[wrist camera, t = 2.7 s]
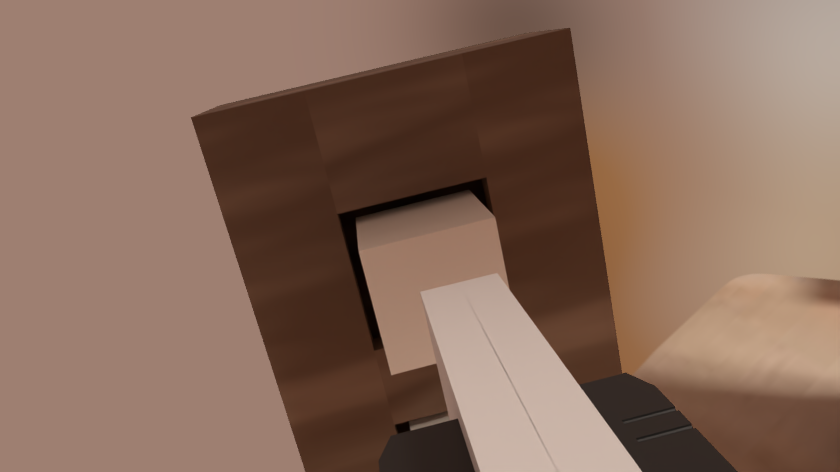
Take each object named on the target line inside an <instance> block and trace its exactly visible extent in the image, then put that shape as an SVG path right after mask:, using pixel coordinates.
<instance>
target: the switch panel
mask: <svg viewBox="0 0 840 472" xmlns="http://www.w3.org/2000/svg"><path fill="white" fill-rule="evenodd" d="M191 119H192V122H193V125H194V128H195V131H196V134H197V137H198V140H199V143H200V147H201V150H202V153H203V156H204V159H205V162H206V165H207V168H208V171H209V174H210V178H211V181H212V184H213V187H214V190H215V193H216V196H217V199H218V202H219V205H220V208H221V212H222V215H223V218H224V221H225V224H226V227H227V230H228V233H229V236H230V239H231V243H232V245H233V248H234V252H235V255H236V258H237V261H238V264H239V267H240V270H241V273H242V277H243V279H244V283H245V286H246V289H247V292H248V295H249V298H250V301H251V304H252V308H253V311H254V314H255V317H256V320H257V323H258V326H259V329H260V332H261V335H262V338H263V342H264V345H265V347H266V351H267V354H268V357H269V360H270V363H271V366H272V369H273V372H274V375H275V379H276V382H277V385H278V388H279V391H280V394H281V397H282V400H283V403H284V406H285V409H286V413H287V416H288V419H289V421H290V425H291V428H292V431H293V434H294V438H295V441H296V444H297V447H298V449H299V453H300V456H301V459H302V462H303V465H304V468H305V472H379V459H380V457H381V455H382V453H383V450H384V448H385V446H386V444H387V442H388V440H389V438H390V436H392V435H396V434H400V433H403V432H407V431H410V425H409V421H411V420H415V419H418V418H422V417H426V416H430V415H434V414H437V413H441V412H445V411H448V410H447V406H446V402H445V398H444V393H443V389H442V385H441V380H440V376H439V372H438V367H437V363H436V364H432V365H429V366H425V367H421V368H417V369H413V370H409V371H406V372H402V373H398V374H394V375H391V372H390V368H389V364H388V361H387V357H386V353H385V349H384V346H383V342H382V338H381V334H380V330H379V327H378V323H377V319H376V315H375V312H374V308H373V304H372V300H371V297H370V293H369V289H368V285H367V281H366V278H365V274H364V270H363V266H362V263H361V259H360V255H359V251H358V240H357V229H356V217H360V216H364V215H368V214H372V213H376V212H380V211H384V210H388V209H392V208H396V207H400V206H404V205H408V204H412V203H416V202H421V201H425V200H429V199H433V198H437V197H441V196H445V195H449V194H453V193H457V192H461V191H465V190H470V191H471V192H472V193H473V194H474V195H475V196H476V197H477V199H478V200H479V201H480V202H481V203H482V204H483V205H484V206H485V207H486V208H487V209H488V210H489V211H490V212H491V213H492V214H493V215H494V216H495V219H496V224H497V229H498V234H499V239H500V244H501V249H502V254H503V259H504V264H505V269H506V274H507V279H508V284H509V290H510V291H511V293H512V294H513V295H514V297H515V298H516V299H517V301H518V302H519V304H520V305H521V306H522V308H523V309H524V310H525V312H526V313H527V314H528V316H529V317H530V319H531V320H532V321H533V323H534V324H535V325H536V327H537V328H538V330H539V331H540V332H541V334H542V335H543V336H544V338H545V339H546V341H547V342H548V343H549V345H550V346H551V347H552V349H553V350H554V351H555V353H556V354H557V356H558V357H559V358H560V360H561V361H562V362H563V364H564V365H565V367H566V368H567V369H568V371H569V372H570V373H571V375H572V376H573V378H574V379H575V380H576V382H577V383H578V384H579V385H580V384H584V383H587V382H591V381H595V380H599V379H603V378H607V377H611V376H615V375H619V374H622V370H621V363H620V356H619V350H618V344H617V337H616V330H615V323H614V317H613V310H612V303H611V297H610V290H609V283H608V277H607V270H606V263H605V257H604V250H603V243H602V237H601V231H600V224H599V217H598V210H597V204H596V197H595V191H594V184H593V177H592V170H591V164H590V158H589V150H588V144H587V138H586V131H585V124H584V117H583V111H582V104H581V97H580V92H579V84H578V77H577V71H576V64H575V57H574V51H573V44H572V37H571V31H570V28H564V29H556V30H548V31H539V32H530V33H524V34H520V35H516V36H511V37H507V38H503V39H499V40H494V41H490V42H486V43H482V44H478V45H473V46H469V47H465V48H461V49H456V50H452V51H448V52H444V53H439V54H436V55H431V56H427V57H423V58H419V59H414V60H411V61H406V62H402V63H397V64H393V65H389V66H384V67H381V68H376V69H372V70H368V71H364V72H359V73H355V74H351V75H347V76H342V77H339V78H334V79H330V80H325V81H321V82H317V83H313V84H309V85H305V86H300V87H296V88H292V89H287V90H283V91H279V92H275V93H270V94H267V95H262V96H258V97H253V98H249V99H245V100H241V101H236V102H233V103H228V104H224V105H220V106H217V107H215V108H213V109H210V110H208V111H206V112H203V113H201V114H198V115H196V116H194V117H191Z"/></svg>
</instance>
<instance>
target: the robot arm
mask: <svg viewBox="0 0 840 472" xmlns="http://www.w3.org/2000/svg"><path fill="white" fill-rule="evenodd" d="M420 294H421V298H422V303H423V307H424V311H425V316H426V320H427V324H428V329H429V333H430V337H431V341H432V346H433V350H434V354H435V359H436V363H437V367H438V372H439V376H440V380H441V385H442V389H443V393H444V398H445V402H446V406H447V410H448V415H449V419H450V421H446V422H442V423H438V424H434V425H431V426H427V427H423V428H419V429H415V430H411V431H407V432H403V433H400V434H396V435H392V436H390V438H389V440H388V442H387V444H386V446H385V448H384V450H383V453H382V455H381V457H380V459H379V472H737V471H736V470H735V469H734V468H733V467H732V465H731V464H730V463H729V462H728V461H727V460H726V459H725V458H724V457H723V456H722V455H721V454H720V453H719V452H718V451H717V450H716V449H715V448H714V447H713V446H712V445H711V444H710V443H709V442H708V441H707V439H706V438H705V437H704V436H703V435H702V434H701V433H700V432H699V431H698V430H697V429H696V428H694V429H693V427H692V425H691V423H690V422H689V421H688V420H687V419H686V418H685V417H684V416H683V415H682V413H681V412H680V411H679V410H678V411H676V409H675V406H674V405H673V404H672V403H671V402H670V401H669V400H668V399H667V398H666V397H665V396H664V395H663V394H662V393H661V392H660V391H659V390H658V388H657V387H656V386H654V385H652V384H649V383H647V382H645V381H643V380H640V379H638V378H636V377H634V376H632V375H629V374H627V373H623V374H619V375H615V376H611V377H607V378H603V379H599V380H595V381H591V382H587V383H584V384H580V385H579V384H578V383H577V382H576V380H575V379H574V378H573V376H572V375H571V373H570V372H569V371H568V369H567V368H566V367H565V365H564V364H563V362H562V361H561V360H560V358H559V357H558V356H557V354H556V353H555V351H554V350H553V349H552V347H551V346H550V345H549V343H548V342H547V341H546V339H545V338H544V336H543V335H542V334H541V332H540V331H539V330H538V328H537V327H536V325H535V324H534V323H533V321H532V320H531V319H530V317H529V316H528V314H527V313H526V312H525V310H524V309H523V308H522V306H521V305H520V304H519V302H518V301H517V299H516V298H515V297H514V295H513V294H512V293H511V291H510V290H509V288H508V287H507V286H506V284H505V283H504V282H503V280H502V279H501V277H500V276H499V275H498V273H495V274H491V275H487V276H483V277H479V278H475V279H471V280H467V281H463V282H458V283H454V284H450V285H446V286H442V287H438V288H434V289H430V290H426V291H422V292H420Z"/></svg>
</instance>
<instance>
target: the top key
mask: <svg viewBox="0 0 840 472" xmlns="http://www.w3.org/2000/svg"><path fill="white" fill-rule="evenodd" d="M356 229H357V240H358V251H359V255H360V259H361V263H362V266H363V270H364V274H365V278H366V281H367V285H368V289H369V293H370V297H371V300H372V304H373V308H374V312H375V315H376V319H377V323H378V327H379V330H380V334H381V338H382V342H383V346H384V349H385V353H386V357H387V361H388V364H389V368H390V372H391V375H394V374H398V373H402V372H406V371H409V370H413V369H417V368H421V367H425V366H429V365H432V364H436V359H435V354H434V350H433V346H432V341H431V337H430V333H429V329H428V324H427V320H426V316H425V311H424V307H423V303H422V298H421V294H420V292H422V291H426V290H430V289H434V288H438V287H442V286H446V285H450V284H454V283H458V282H463V281H467V280H471V279H475V278H479V277H483V276H487V275H491V274H495V273H498V275H499V276H500V277H501V279H502V280H503V282H504V283H505V284H506V286H507V287H508V288H509V284H508V279H507V274H506V269H505V264H504V259H503V254H502V249H501V244H500V239H499V234H498V229H497V224H496V219H495V216H494V215H493V214H492V213H491V212H490V211H489V210H488V209H487V208H486V207H485V206H484V205H483V204H482V203H481V202H480V201H479V200H478V199H477V197H476V196H475V195H474V194H473V193H472V192H471V191H470V190H465V191H461V192H457V193H453V194H449V195H445V196H441V197H437V198H433V199H429V200H425V201H421V202H416V203H412V204H408V205H404V206H400V207H396V208H392V209H388V210H384V211H380V212H376V213H372V214H368V215H364V216H360V217H356Z"/></svg>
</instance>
